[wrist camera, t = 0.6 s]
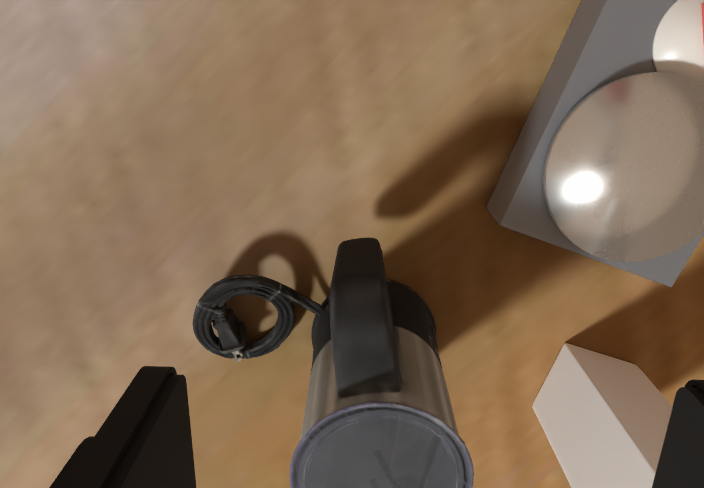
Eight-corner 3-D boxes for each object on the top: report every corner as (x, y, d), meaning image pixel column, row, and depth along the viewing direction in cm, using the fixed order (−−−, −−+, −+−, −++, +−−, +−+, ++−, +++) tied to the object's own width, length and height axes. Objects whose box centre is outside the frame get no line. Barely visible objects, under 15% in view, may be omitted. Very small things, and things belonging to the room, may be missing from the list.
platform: (553, 71, 31) (558, 72, 30) (753, 71, 31) (763, 72, 30) (532, 256, 34) (536, 261, 34) (710, 257, 34) (718, 262, 34)
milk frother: (455, 361, 42) (502, 517, 28) (272, 434, 44) (231, 611, 30) (376, 196, 38) (386, 283, 24) (179, 287, 40) (83, 413, 26)
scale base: (606, -55, 32) (643, -70, 28) (783, 20, 34) (842, 16, 30) (485, 207, 38) (501, 227, 34) (641, 264, 39) (674, 290, 35)
